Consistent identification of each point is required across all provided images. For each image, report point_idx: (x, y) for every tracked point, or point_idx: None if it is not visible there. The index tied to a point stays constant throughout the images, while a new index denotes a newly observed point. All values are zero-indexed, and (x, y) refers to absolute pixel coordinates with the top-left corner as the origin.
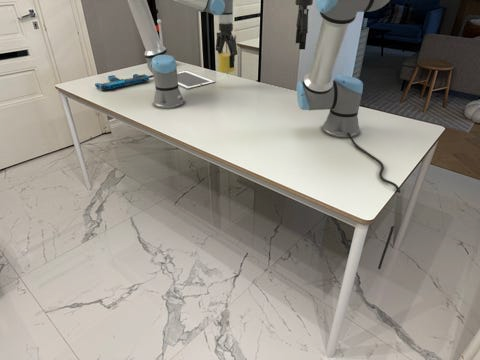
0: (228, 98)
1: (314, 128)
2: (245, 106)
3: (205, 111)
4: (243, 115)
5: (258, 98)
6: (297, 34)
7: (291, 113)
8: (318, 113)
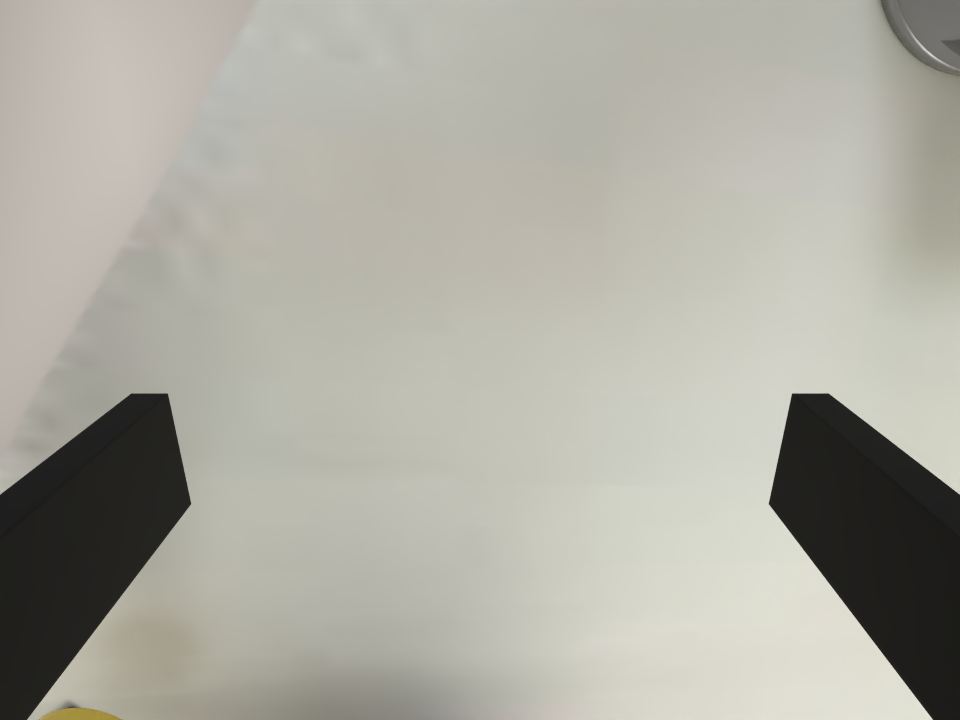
0: (364, 626)
1: (920, 137)
2: (498, 539)
3: (571, 710)
4: (642, 547)
5: (345, 466)
6: (72, 625)
7: (633, 269)
8: (650, 53)
